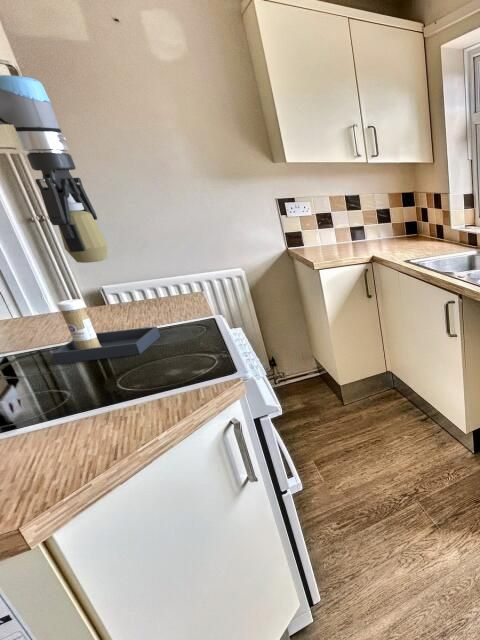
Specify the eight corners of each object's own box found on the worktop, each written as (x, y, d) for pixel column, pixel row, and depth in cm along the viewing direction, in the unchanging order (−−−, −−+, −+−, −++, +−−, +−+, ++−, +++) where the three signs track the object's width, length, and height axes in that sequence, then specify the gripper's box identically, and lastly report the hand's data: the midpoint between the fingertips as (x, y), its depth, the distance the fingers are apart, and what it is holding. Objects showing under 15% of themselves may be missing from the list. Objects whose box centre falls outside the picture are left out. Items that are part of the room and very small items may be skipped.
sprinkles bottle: (74, 354, 108) (51, 304, 103) (87, 347, 112) (65, 299, 107) (94, 352, 109) (72, 303, 103) (106, 346, 113) (86, 297, 108)
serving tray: (56, 364, 104) (50, 353, 102) (85, 344, 115) (81, 334, 114) (140, 354, 109) (136, 343, 108) (160, 336, 120) (157, 326, 119)
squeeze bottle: (103, 256, 115) (75, 187, 108) (119, 258, 112) (91, 187, 105) (64, 262, 109) (32, 188, 102) (80, 265, 105) (48, 189, 98)
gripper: (40, 150, 92) (83, 254, 101) (90, 153, 110) (123, 241, 119) (-5, 151, 90) (43, 257, 99) (54, 153, 108) (90, 243, 117)
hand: (87, 248), depth 109 cm, fingers closed on squeeze bottle, 8 cm apart
